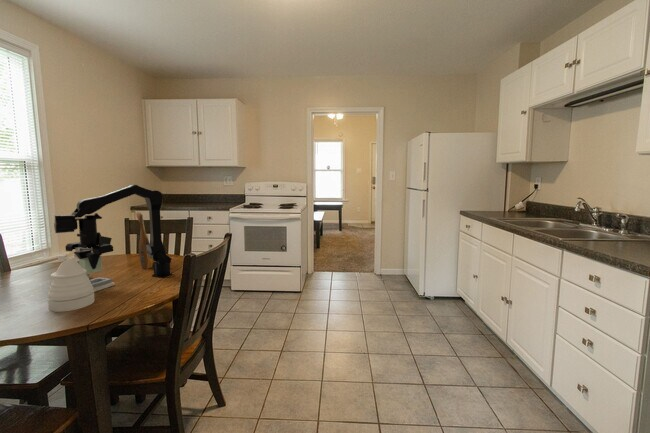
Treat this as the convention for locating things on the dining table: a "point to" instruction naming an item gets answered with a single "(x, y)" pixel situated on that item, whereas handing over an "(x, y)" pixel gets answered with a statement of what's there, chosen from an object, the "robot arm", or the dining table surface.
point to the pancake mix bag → (143, 245)
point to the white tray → (101, 283)
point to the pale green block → (86, 265)
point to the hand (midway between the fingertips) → (90, 268)
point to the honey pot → (69, 287)
